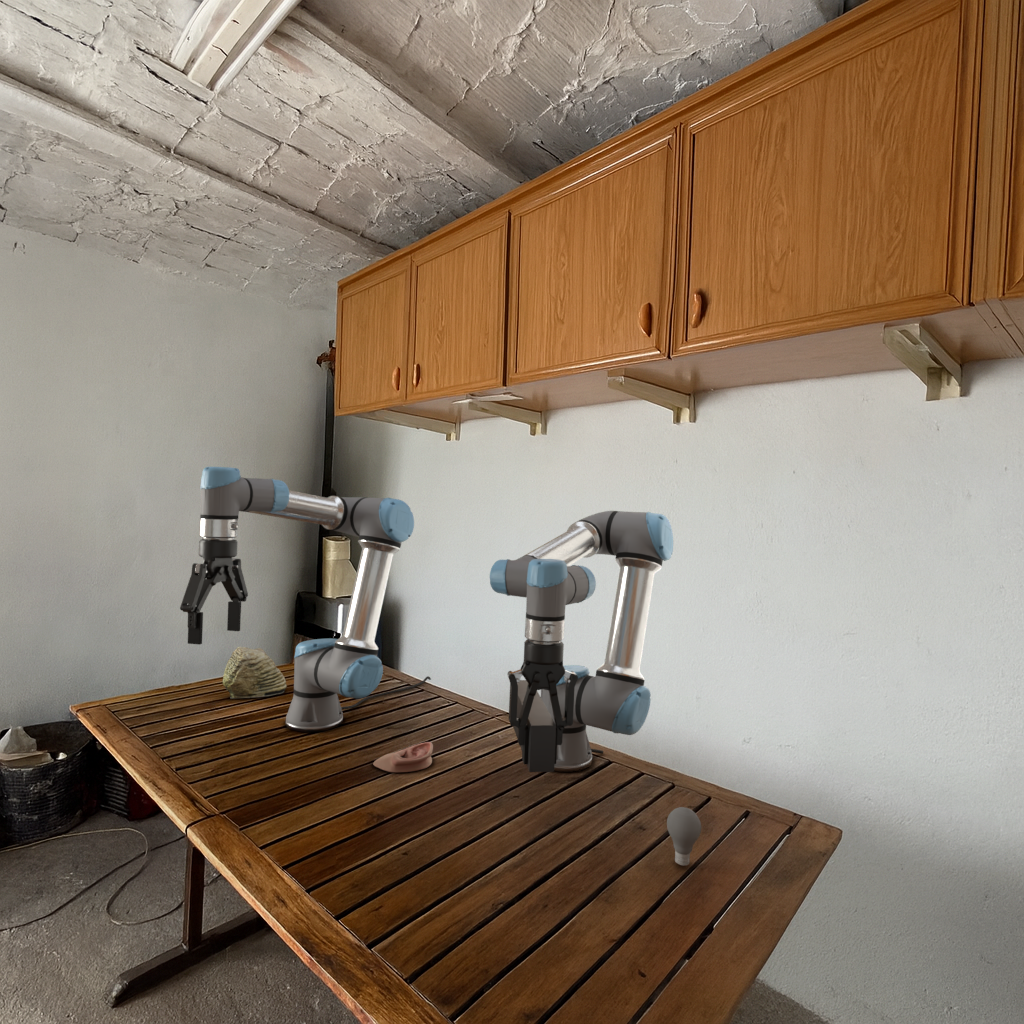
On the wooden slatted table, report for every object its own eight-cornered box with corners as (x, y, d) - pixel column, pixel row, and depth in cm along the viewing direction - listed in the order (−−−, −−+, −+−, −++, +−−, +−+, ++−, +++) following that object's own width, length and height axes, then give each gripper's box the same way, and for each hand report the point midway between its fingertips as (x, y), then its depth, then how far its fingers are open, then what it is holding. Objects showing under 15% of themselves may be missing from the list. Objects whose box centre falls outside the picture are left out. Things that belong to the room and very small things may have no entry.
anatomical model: (368, 752, 148) (387, 734, 159) (367, 769, 148) (386, 750, 159) (422, 759, 145) (438, 741, 156) (421, 776, 145) (437, 757, 156)
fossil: (218, 695, 195) (220, 647, 195) (278, 685, 208) (279, 640, 207) (228, 703, 189) (230, 653, 188) (289, 692, 201) (290, 645, 201)
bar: (509, 717, 147) (511, 680, 147) (529, 717, 147) (531, 680, 147) (529, 772, 118) (531, 725, 118) (554, 771, 118) (556, 725, 118)
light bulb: (660, 854, 117) (663, 800, 117) (692, 854, 117) (694, 801, 117) (671, 873, 111) (674, 817, 111) (704, 873, 111) (707, 817, 111)
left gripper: (197, 543, 123) (193, 651, 124) (265, 536, 148) (262, 627, 148) (162, 541, 124) (158, 648, 125) (236, 535, 149) (233, 624, 149)
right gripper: (500, 644, 116) (494, 770, 117) (594, 645, 118) (588, 769, 119) (495, 635, 124) (490, 753, 124) (584, 636, 126) (579, 753, 126)
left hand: (215, 637), depth 137 cm, fingers open, 13 cm apart
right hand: (538, 760), depth 121 cm, fingers closed on bar, 5 cm apart
